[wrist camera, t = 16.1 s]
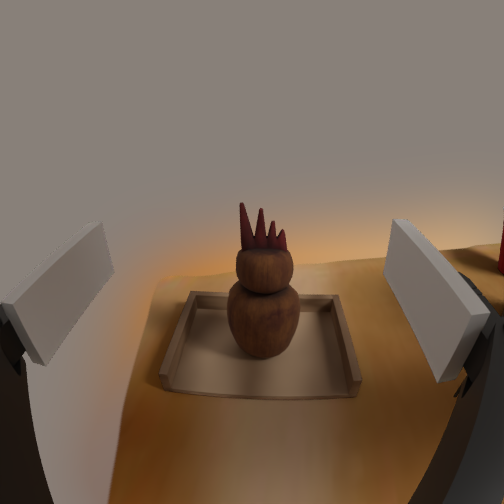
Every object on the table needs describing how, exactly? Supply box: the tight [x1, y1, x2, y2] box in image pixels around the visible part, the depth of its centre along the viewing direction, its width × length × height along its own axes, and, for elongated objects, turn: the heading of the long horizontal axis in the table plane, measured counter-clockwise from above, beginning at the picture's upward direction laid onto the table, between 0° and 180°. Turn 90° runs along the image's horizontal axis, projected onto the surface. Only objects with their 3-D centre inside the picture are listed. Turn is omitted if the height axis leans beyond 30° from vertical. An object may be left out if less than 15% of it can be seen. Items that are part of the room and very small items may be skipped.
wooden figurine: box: [227, 203, 301, 358], centre depth 27 cm, size 7×6×15 cm
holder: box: [159, 291, 362, 400], centre depth 30 cm, size 18×13×2 cm
